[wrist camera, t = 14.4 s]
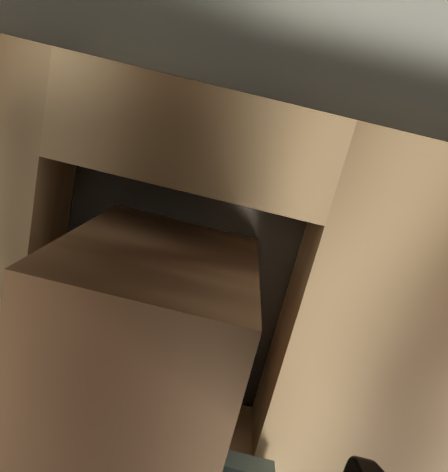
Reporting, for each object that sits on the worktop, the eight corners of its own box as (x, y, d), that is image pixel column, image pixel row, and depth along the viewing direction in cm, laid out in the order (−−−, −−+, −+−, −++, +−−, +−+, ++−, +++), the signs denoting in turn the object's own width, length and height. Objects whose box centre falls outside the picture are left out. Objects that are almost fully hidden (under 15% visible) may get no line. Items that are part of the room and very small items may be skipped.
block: (257, 238, 13) (262, 331, 7) (224, 364, 14) (204, 533, 8) (116, 204, 13) (3, 269, 7) (95, 332, 14) (-18, 479, 8)
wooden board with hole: (635, 194, 12) (730, 210, 9) (430, 606, 16) (460, 688, 14) (-66, 23, 12) (-144, -2, 9) (-88, 478, 16) (-146, 538, 14)
